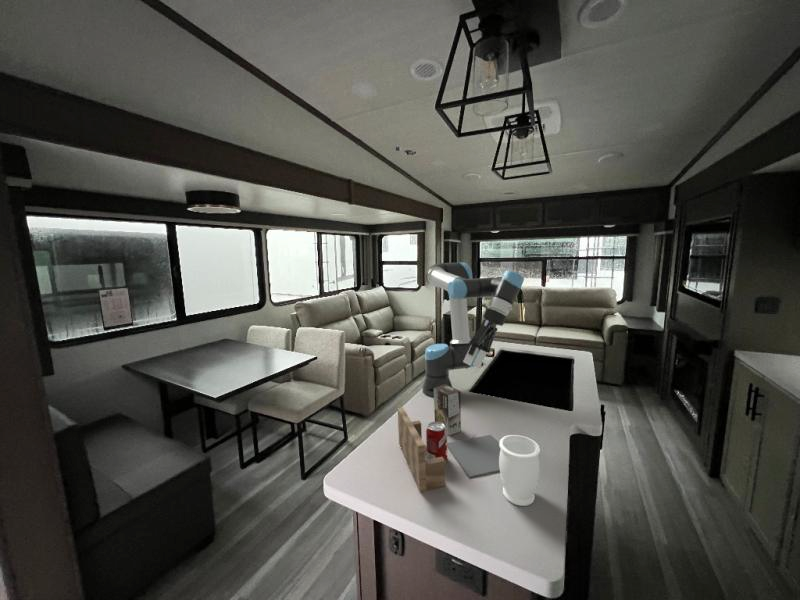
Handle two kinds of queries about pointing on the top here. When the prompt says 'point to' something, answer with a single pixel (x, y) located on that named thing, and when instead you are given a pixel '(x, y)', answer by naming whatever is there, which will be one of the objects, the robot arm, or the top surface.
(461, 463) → the rubber mat
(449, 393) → the coffee box
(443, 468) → the walnut bay
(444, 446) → the soda can
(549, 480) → the top surface
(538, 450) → the jar
